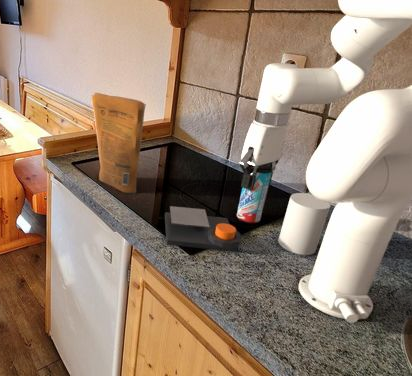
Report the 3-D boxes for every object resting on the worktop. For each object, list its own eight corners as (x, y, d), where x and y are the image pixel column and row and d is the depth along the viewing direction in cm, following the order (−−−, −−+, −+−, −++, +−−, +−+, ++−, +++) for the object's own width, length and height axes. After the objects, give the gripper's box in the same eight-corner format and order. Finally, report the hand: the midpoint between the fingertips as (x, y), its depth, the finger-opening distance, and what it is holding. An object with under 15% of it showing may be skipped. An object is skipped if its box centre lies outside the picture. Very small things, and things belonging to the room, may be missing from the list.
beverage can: (233, 213, 111) (244, 162, 105) (255, 214, 111) (268, 163, 104) (239, 224, 106) (251, 171, 99) (262, 225, 105) (275, 172, 99)
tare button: (236, 241, 93) (237, 233, 92) (216, 239, 94) (217, 231, 93) (232, 231, 97) (234, 224, 96) (213, 229, 98) (215, 222, 97)
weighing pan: (209, 228, 98) (209, 226, 97) (171, 224, 99) (171, 222, 99) (204, 210, 106) (205, 209, 105) (169, 207, 107) (169, 206, 107)
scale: (241, 255, 93) (244, 244, 91) (166, 247, 95) (168, 236, 94) (230, 223, 106) (232, 212, 105) (164, 216, 108) (165, 206, 107)
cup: (307, 237, 100) (320, 194, 95) (321, 256, 93) (337, 210, 88) (273, 235, 101) (285, 191, 96) (285, 253, 94) (298, 207, 89)
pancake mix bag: (129, 199, 117) (137, 103, 106) (86, 177, 131) (89, 90, 119) (144, 193, 121) (154, 100, 110) (101, 172, 135) (106, 88, 123)
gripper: (279, 110, 103) (264, 174, 111) (234, 118, 95) (220, 187, 103) (307, 117, 98) (289, 185, 105) (261, 126, 89) (245, 199, 97)
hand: (255, 185), depth 104 cm, fingers closed on beverage can, 6 cm apart
